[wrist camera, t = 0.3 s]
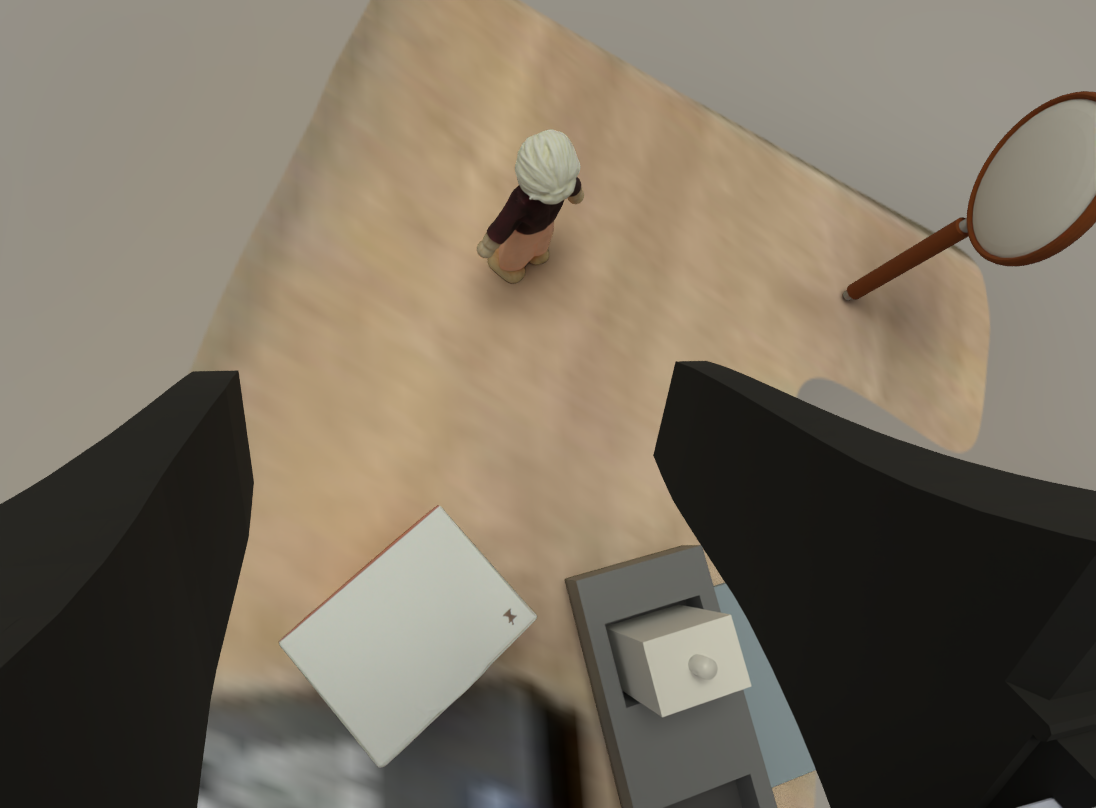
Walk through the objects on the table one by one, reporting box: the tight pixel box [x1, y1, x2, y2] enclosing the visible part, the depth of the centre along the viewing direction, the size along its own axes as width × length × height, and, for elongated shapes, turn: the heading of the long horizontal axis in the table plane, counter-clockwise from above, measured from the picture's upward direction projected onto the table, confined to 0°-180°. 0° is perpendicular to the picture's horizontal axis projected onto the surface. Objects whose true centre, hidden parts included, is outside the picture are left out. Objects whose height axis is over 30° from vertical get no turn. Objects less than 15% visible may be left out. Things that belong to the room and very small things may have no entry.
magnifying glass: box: [843, 91, 1096, 300], centre depth 39 cm, size 9×2×20 cm, turn 170°
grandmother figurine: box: [477, 129, 584, 283], centre depth 37 cm, size 8×4×13 cm, turn 139°
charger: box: [606, 604, 751, 717], centre depth 35 cm, size 4×5×8 cm
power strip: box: [565, 545, 777, 808], centre depth 37 cm, size 20×8×4 cm, turn 14°
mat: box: [714, 583, 816, 788], centre depth 41 cm, size 12×10×1 cm
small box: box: [279, 505, 537, 768], centre depth 31 cm, size 8×6×13 cm
